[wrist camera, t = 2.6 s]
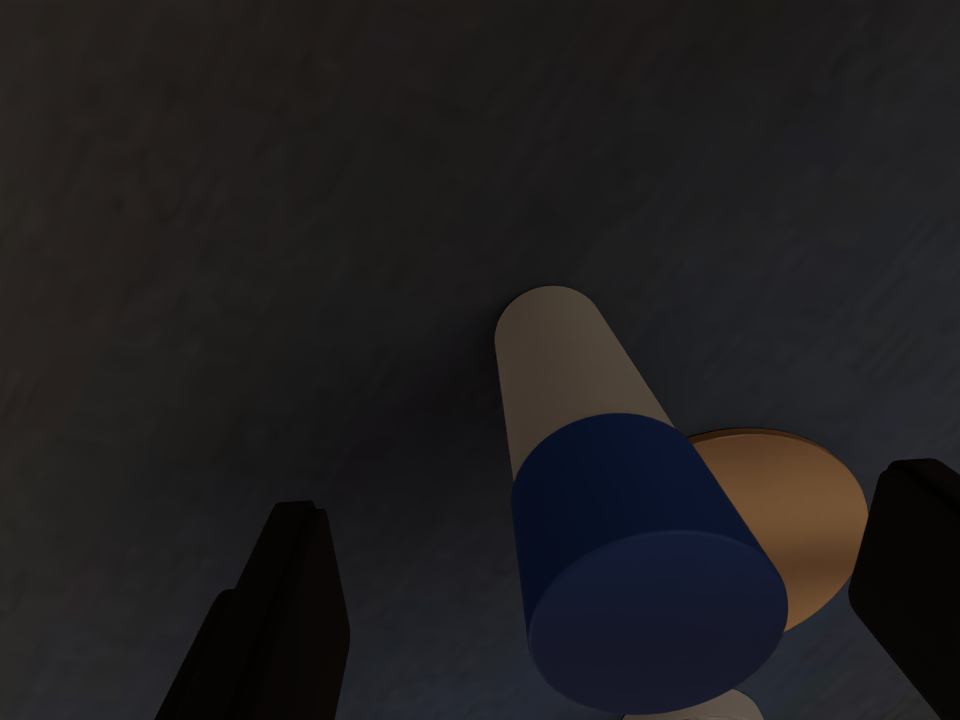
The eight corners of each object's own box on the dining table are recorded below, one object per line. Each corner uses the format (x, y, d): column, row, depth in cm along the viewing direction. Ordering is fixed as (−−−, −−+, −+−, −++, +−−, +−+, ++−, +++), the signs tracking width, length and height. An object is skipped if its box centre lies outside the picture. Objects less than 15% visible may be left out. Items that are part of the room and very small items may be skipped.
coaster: (580, 437, 18) (583, 444, 17) (893, 418, 18) (902, 424, 18) (575, 653, 22) (577, 662, 22) (828, 636, 22) (834, 645, 22)
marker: (488, 285, 16) (525, 540, 7) (609, 277, 16) (813, 522, 7) (493, 392, 17) (530, 724, 8) (605, 385, 17) (767, 708, 8)
